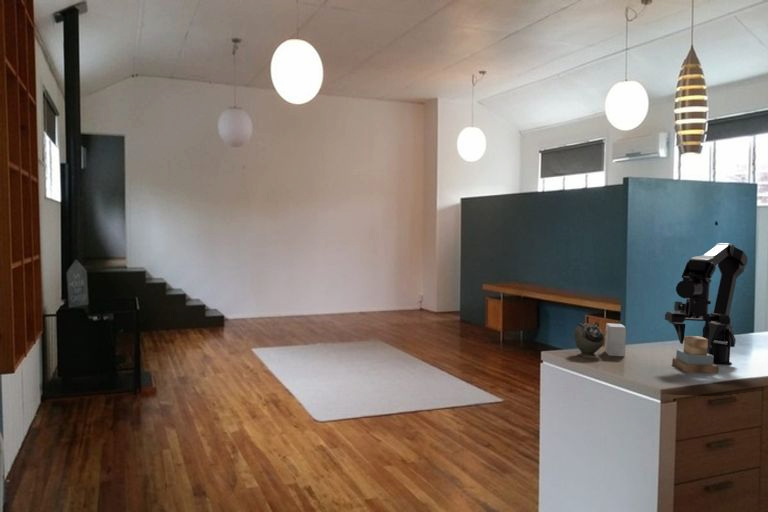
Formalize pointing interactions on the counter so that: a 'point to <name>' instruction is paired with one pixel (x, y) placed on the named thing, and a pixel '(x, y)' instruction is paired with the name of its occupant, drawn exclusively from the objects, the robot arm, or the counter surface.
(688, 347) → the oak block
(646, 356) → the counter surface
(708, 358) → the tower top
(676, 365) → the tower base
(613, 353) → the small box
